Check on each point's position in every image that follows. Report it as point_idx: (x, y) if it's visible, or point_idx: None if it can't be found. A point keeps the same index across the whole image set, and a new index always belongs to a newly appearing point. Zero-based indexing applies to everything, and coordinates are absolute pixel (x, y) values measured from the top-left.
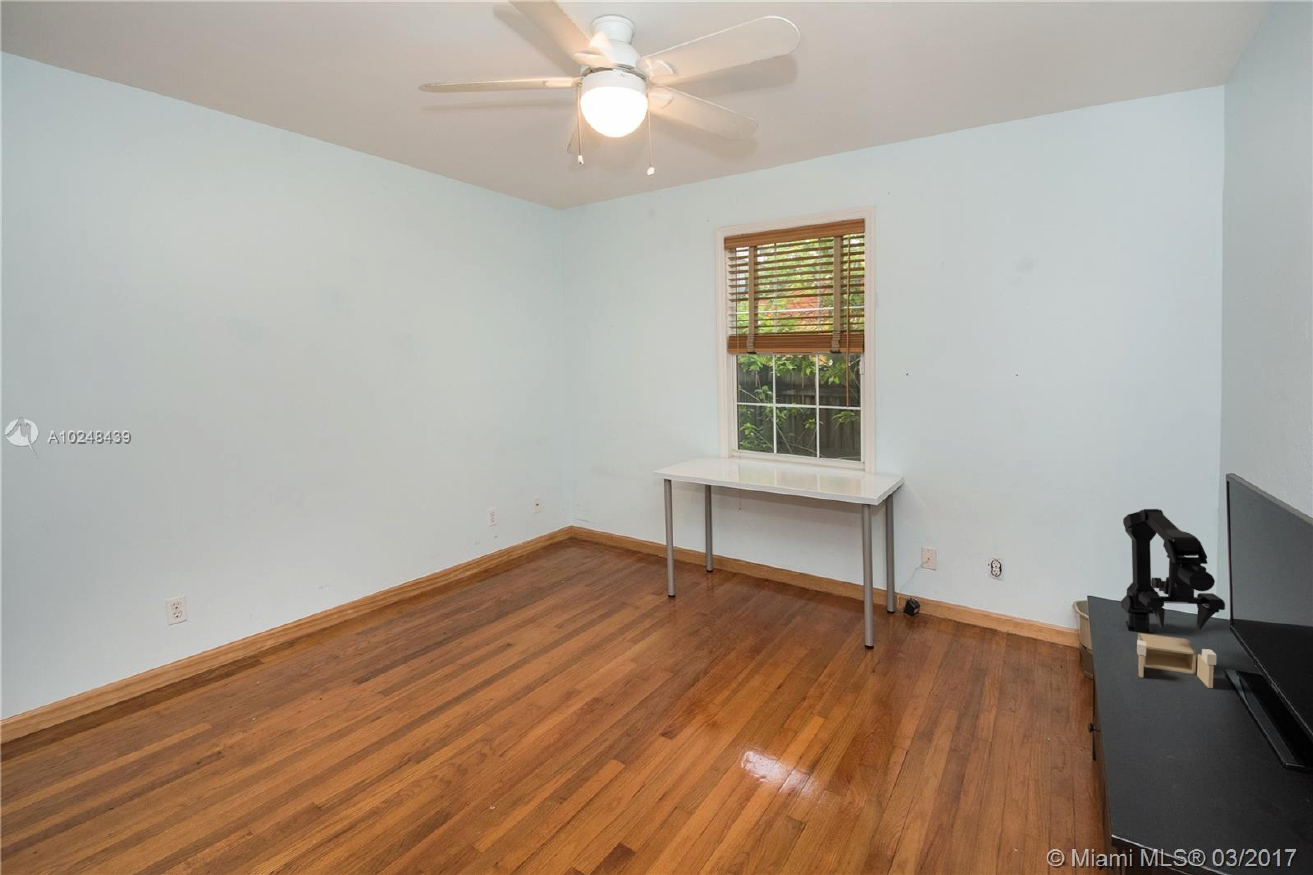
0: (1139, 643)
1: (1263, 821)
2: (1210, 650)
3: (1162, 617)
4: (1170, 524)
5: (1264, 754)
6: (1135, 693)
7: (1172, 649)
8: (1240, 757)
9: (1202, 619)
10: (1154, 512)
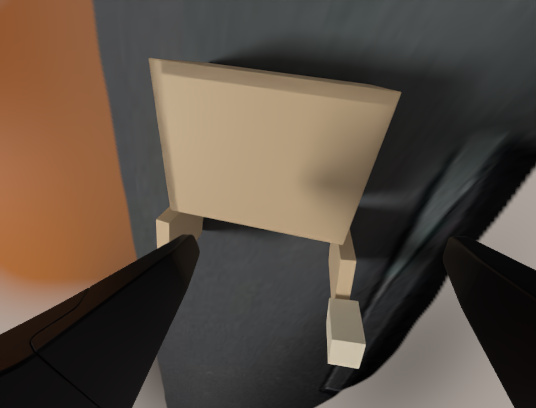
0: None
1: None
2: (358, 348)
3: (134, 374)
4: None
5: (311, 378)
6: None
7: (264, 226)
8: (280, 378)
9: (523, 405)
10: None
